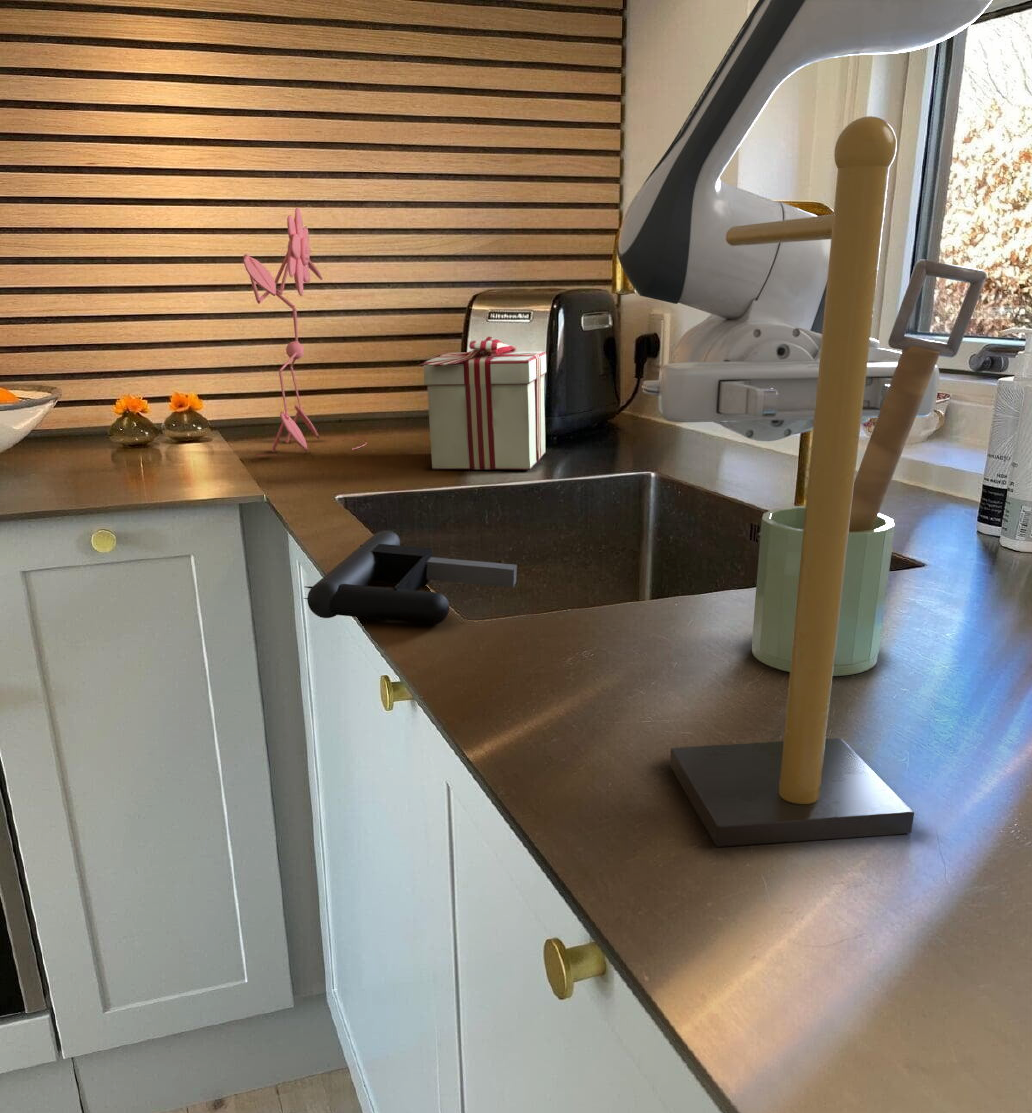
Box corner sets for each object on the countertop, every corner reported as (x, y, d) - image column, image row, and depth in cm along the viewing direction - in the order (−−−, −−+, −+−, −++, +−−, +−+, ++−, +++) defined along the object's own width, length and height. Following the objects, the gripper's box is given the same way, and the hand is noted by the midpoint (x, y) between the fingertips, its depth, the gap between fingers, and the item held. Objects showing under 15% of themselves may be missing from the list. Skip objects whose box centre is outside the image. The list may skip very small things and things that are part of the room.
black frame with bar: (526, 540, 98) (361, 525, 100) (489, 603, 80) (288, 584, 82) (524, 574, 100) (362, 559, 102) (487, 643, 81) (289, 623, 83)
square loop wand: (830, 631, 78) (971, 264, 64) (852, 661, 74) (1006, 279, 61) (773, 624, 77) (903, 251, 64) (792, 655, 73) (934, 266, 60)
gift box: (427, 452, 161) (423, 335, 155) (547, 453, 160) (547, 334, 153) (406, 472, 145) (400, 343, 139) (538, 473, 144) (538, 342, 137)
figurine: (251, 461, 156) (225, 203, 143) (292, 435, 180) (273, 212, 167) (353, 460, 155) (336, 201, 142) (381, 434, 179) (368, 211, 166)
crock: (846, 632, 80) (861, 503, 77) (898, 673, 72) (917, 531, 69) (735, 637, 80) (745, 507, 76) (776, 679, 71) (788, 536, 68)
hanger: (778, 691, 69) (826, 157, 58) (911, 833, 52) (1021, 108, 40) (630, 699, 68) (649, 157, 56) (716, 847, 51) (769, 106, 39)
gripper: (637, 342, 80) (686, 355, 67) (891, 337, 82) (985, 350, 70) (634, 425, 82) (681, 454, 70) (881, 419, 85) (970, 446, 72)
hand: (835, 402), depth 70 cm, fingers open, 8 cm apart
